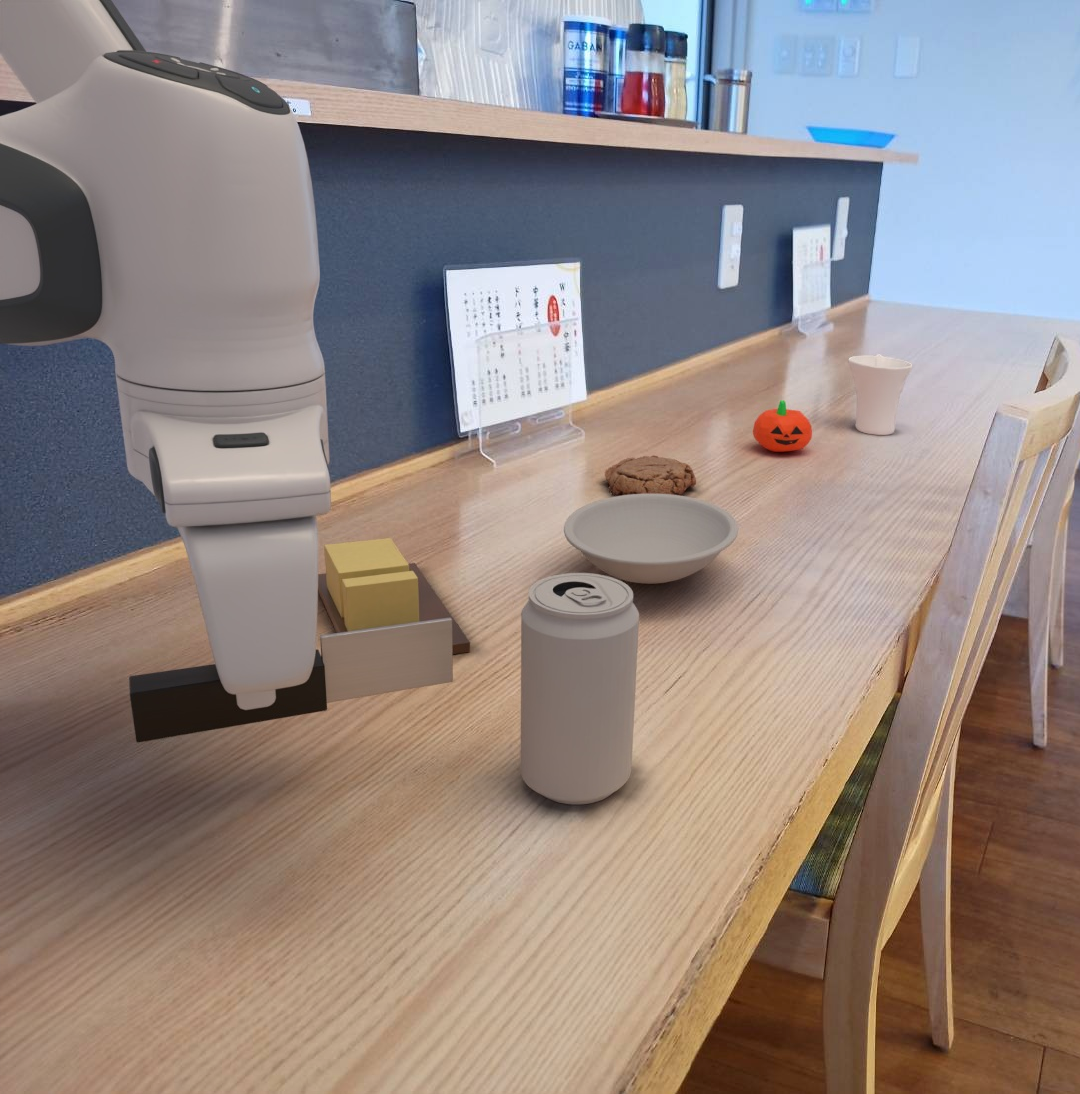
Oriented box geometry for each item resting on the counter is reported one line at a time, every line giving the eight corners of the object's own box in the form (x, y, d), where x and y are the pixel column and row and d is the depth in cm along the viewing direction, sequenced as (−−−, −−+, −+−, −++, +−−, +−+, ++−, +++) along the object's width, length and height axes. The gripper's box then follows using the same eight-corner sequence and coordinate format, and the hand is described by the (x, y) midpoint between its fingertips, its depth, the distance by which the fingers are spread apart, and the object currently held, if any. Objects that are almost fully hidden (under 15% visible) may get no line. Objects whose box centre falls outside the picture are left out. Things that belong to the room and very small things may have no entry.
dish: (705, 633, 80) (709, 574, 78) (530, 604, 83) (531, 545, 81) (752, 557, 96) (756, 506, 94) (605, 534, 99) (606, 484, 97)
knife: (136, 743, 52) (126, 672, 50) (135, 724, 53) (125, 654, 52) (457, 688, 59) (456, 625, 58) (447, 673, 61) (446, 611, 59)
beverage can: (592, 739, 65) (598, 560, 60) (652, 788, 60) (663, 599, 56) (500, 770, 61) (499, 581, 57) (557, 825, 56) (561, 625, 52)
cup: (903, 425, 150) (912, 356, 147) (904, 441, 141) (914, 368, 138) (842, 418, 151) (849, 350, 148) (839, 434, 142) (847, 361, 139)
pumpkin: (822, 452, 133) (827, 403, 131) (781, 461, 127) (786, 410, 125) (779, 439, 137) (784, 391, 135) (738, 448, 132) (742, 398, 130)
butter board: (353, 670, 71) (353, 660, 70) (314, 583, 83) (313, 574, 83) (470, 651, 74) (470, 641, 74) (415, 571, 87) (415, 562, 87)
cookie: (609, 504, 107) (610, 476, 106) (601, 473, 117) (602, 448, 116) (704, 505, 109) (706, 477, 108) (688, 475, 119) (689, 449, 118)
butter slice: (348, 633, 74) (345, 586, 73) (344, 624, 75) (341, 579, 74) (419, 622, 76) (418, 577, 75) (414, 614, 78) (413, 570, 76)
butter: (341, 618, 76) (338, 572, 75) (326, 587, 81) (324, 544, 80) (410, 608, 79) (409, 564, 77) (392, 579, 83) (390, 537, 82)
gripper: (145, 384, 56) (172, 615, 61) (165, 503, 40) (200, 805, 45) (271, 381, 59) (287, 601, 64) (338, 490, 43) (352, 775, 48)
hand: (251, 687), depth 54 cm, fingers closed on knife, 2 cm apart
